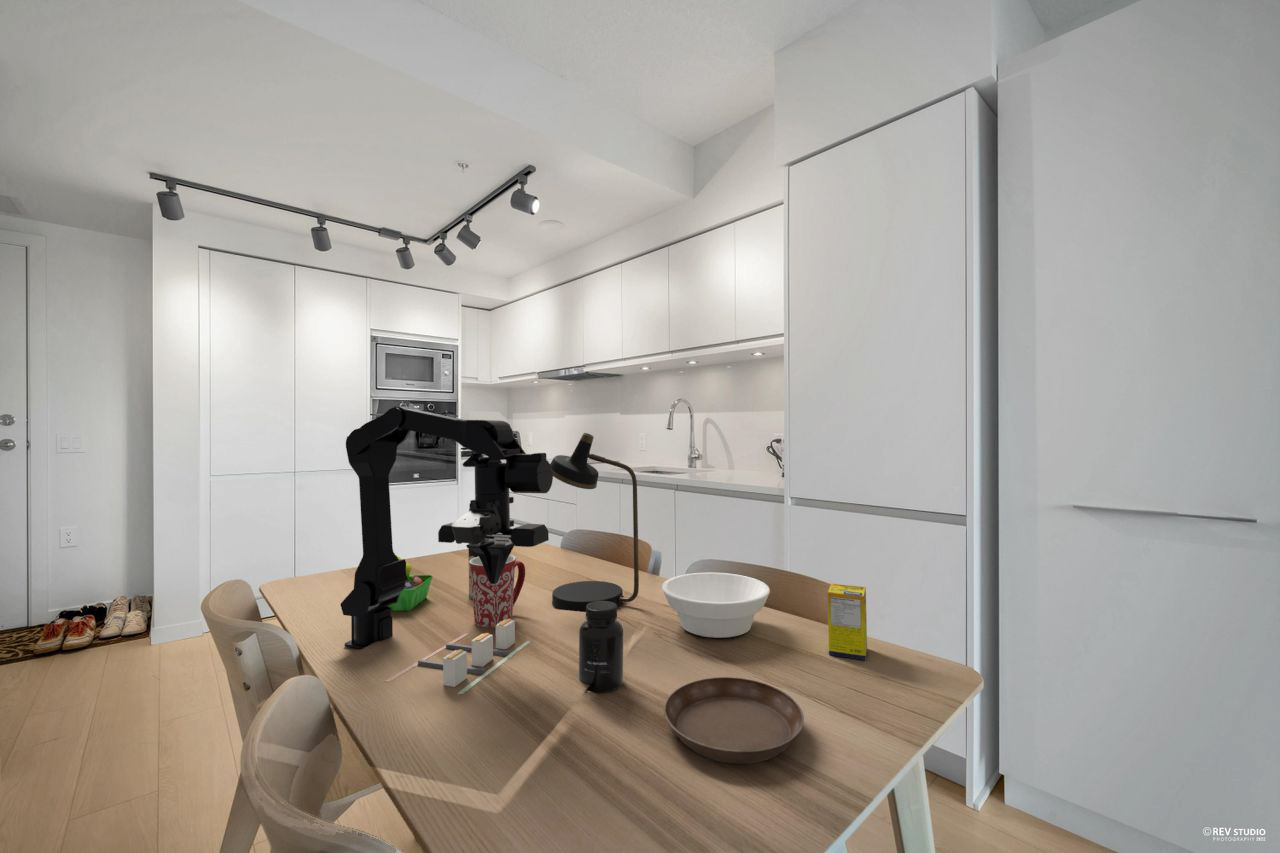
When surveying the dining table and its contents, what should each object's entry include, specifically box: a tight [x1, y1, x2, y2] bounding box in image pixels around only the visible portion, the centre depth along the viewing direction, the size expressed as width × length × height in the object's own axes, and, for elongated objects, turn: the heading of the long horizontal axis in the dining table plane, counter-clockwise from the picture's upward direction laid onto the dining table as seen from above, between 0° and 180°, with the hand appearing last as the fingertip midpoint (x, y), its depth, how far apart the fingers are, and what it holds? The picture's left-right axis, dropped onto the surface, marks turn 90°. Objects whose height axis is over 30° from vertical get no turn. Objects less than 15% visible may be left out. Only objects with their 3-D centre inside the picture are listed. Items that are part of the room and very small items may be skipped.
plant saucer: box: [663, 676, 805, 765], centre depth 69 cm, size 18×18×3 cm
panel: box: [384, 632, 532, 695], centre depth 88 cm, size 14×22×2 cm, turn 163°
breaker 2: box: [495, 618, 516, 651], centre depth 94 cm, size 2×3×4 cm, turn 163°
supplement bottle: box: [578, 601, 624, 694], centre depth 82 cm, size 7×7×12 cm
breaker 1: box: [442, 649, 468, 688], centre depth 80 cm, size 2×3×4 cm, turn 163°
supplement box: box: [827, 583, 868, 661], centre depth 93 cm, size 6×6×11 cm
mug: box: [468, 554, 526, 628], centre depth 108 cm, size 13×9×14 cm
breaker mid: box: [471, 632, 494, 668], centre depth 87 cm, size 2×3×4 cm, turn 163°
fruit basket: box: [388, 554, 433, 612], centre depth 121 cm, size 11×9×11 cm
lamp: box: [549, 432, 640, 613], centre depth 121 cm, size 16×22×38 cm
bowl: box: [661, 572, 771, 639], centre depth 105 cm, size 21×21×8 cm
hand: (493, 583), depth 92 cm, fingers closed
